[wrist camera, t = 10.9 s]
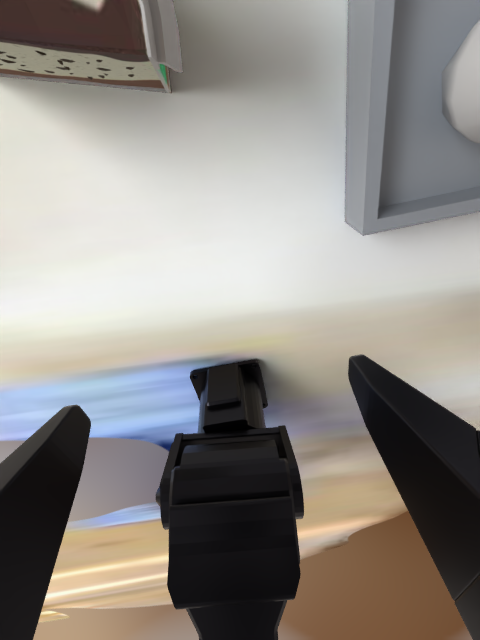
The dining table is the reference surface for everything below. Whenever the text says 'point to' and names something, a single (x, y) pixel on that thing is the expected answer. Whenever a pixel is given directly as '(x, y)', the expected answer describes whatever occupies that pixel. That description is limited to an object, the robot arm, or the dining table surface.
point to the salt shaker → (464, 87)
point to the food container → (91, 42)
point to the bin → (405, 115)
